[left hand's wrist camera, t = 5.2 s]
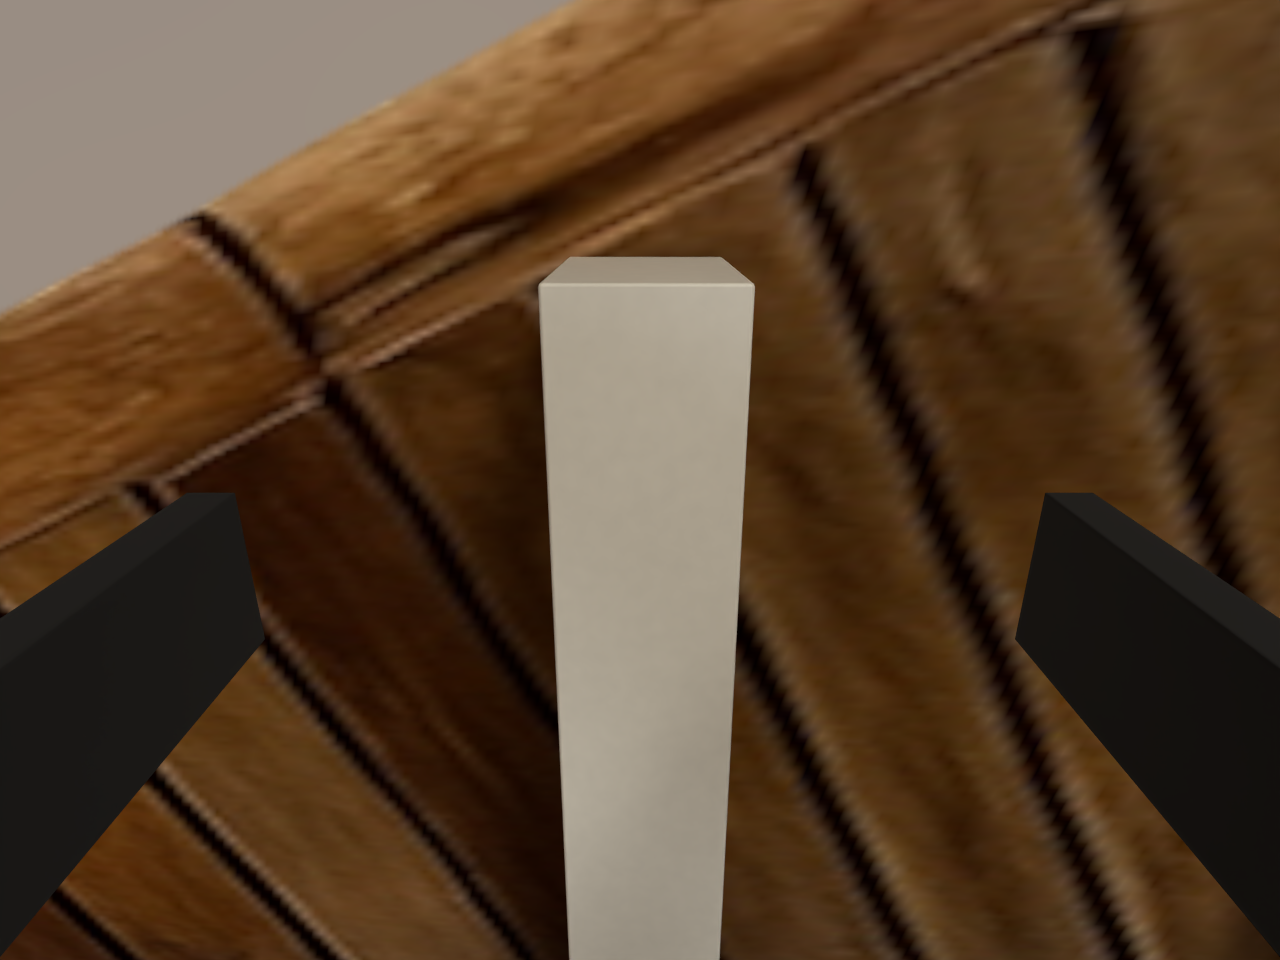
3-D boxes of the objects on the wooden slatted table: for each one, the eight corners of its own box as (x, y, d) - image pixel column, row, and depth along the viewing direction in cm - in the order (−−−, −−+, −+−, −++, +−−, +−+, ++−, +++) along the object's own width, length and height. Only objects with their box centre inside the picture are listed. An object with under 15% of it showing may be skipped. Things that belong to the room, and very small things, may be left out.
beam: (567, 256, 24) (537, 283, 17) (722, 256, 24) (755, 282, 17) (591, 989, 37) (579, 1182, 29) (695, 990, 37) (708, 1182, 29)
